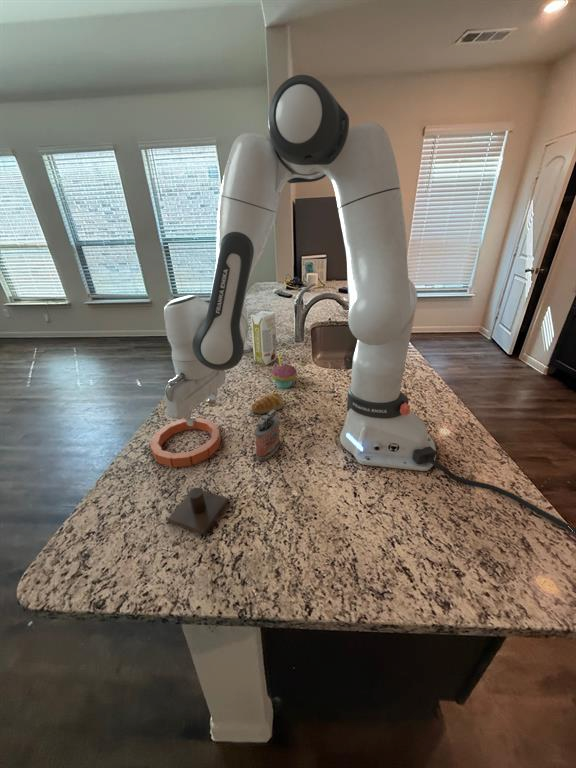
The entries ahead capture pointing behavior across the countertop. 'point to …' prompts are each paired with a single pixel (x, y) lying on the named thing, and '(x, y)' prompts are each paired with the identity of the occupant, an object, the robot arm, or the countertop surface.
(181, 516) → the peg stand
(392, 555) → the countertop surface
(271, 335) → the juice carton
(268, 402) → the pastry
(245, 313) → the skyscraper
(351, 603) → the countertop surface
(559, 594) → the countertop surface
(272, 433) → the lighter
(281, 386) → the cupcake
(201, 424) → the ring
